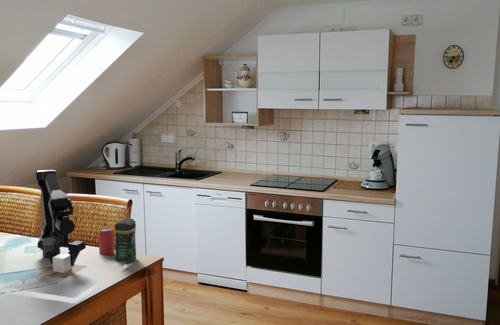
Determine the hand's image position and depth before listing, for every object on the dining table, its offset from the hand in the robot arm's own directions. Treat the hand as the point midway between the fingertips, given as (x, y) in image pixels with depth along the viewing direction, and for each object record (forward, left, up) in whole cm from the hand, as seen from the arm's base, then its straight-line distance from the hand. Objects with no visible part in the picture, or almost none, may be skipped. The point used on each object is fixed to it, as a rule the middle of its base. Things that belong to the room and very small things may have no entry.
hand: (62, 265), depth 183 cm
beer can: (+5, +24, -4) cm, 25 cm away
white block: (0, 0, -2) cm, 2 cm away
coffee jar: (+17, +20, -4) cm, 26 cm away
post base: (0, 0, -4) cm, 4 cm away
